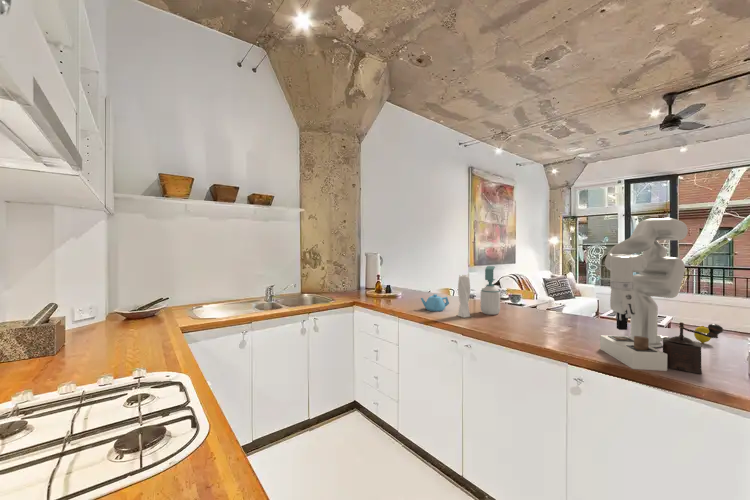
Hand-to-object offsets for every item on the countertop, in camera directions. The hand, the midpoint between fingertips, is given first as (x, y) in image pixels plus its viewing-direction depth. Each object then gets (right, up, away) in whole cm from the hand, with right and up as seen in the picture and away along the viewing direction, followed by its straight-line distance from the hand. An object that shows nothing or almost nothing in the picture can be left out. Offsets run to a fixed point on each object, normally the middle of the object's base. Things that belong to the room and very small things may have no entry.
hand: (621, 329), depth 135 cm
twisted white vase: (-47, -9, +69) cm, 84 cm away
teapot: (-61, -9, +92) cm, 110 cm away
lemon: (+47, -10, +13) cm, 50 cm away
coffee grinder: (+12, -11, -17) cm, 23 cm away
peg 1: (-1, -10, 0) cm, 10 cm away
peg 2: (-3, -6, -13) cm, 15 cm away
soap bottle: (-27, -9, +79) cm, 84 cm away
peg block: (-2, -10, -7) cm, 12 cm away
